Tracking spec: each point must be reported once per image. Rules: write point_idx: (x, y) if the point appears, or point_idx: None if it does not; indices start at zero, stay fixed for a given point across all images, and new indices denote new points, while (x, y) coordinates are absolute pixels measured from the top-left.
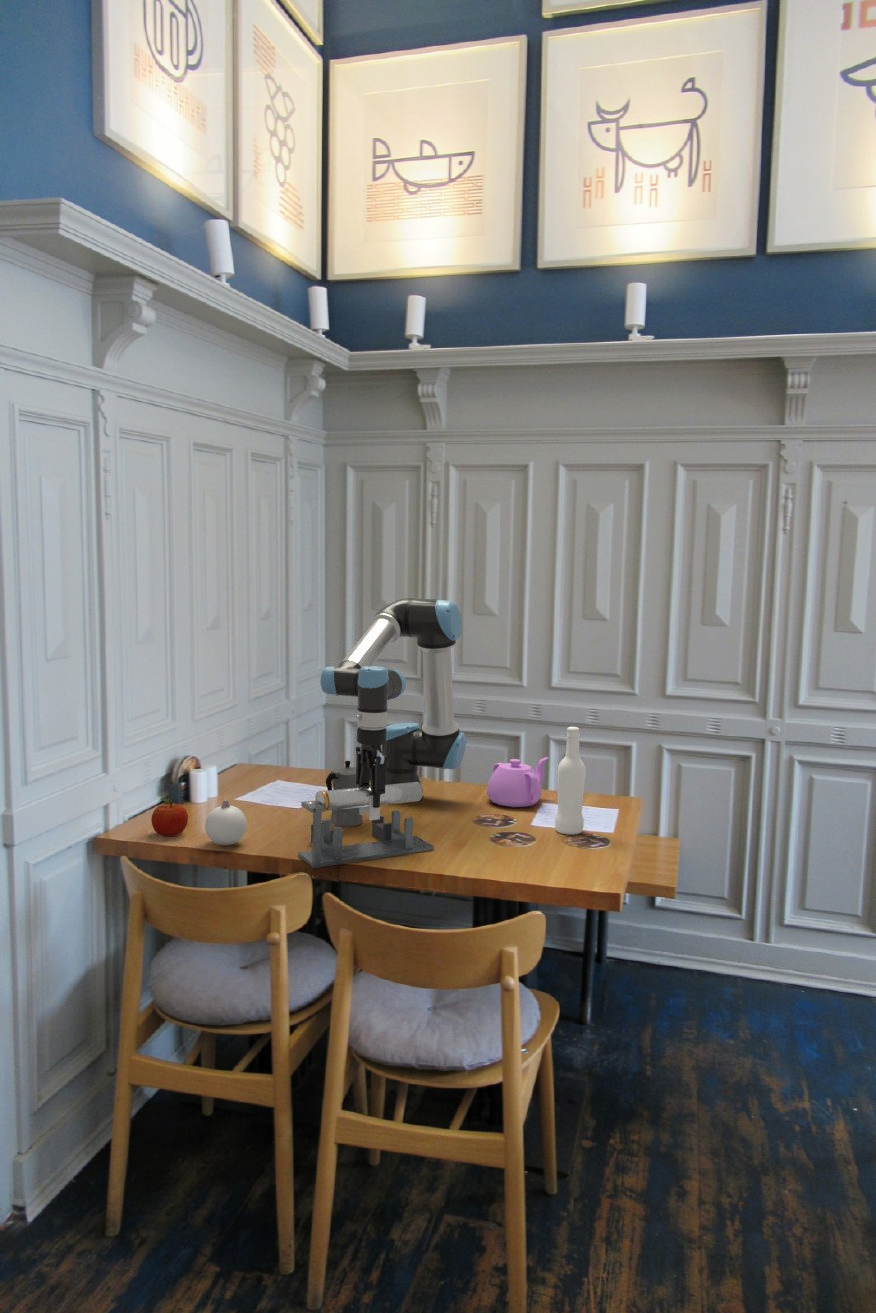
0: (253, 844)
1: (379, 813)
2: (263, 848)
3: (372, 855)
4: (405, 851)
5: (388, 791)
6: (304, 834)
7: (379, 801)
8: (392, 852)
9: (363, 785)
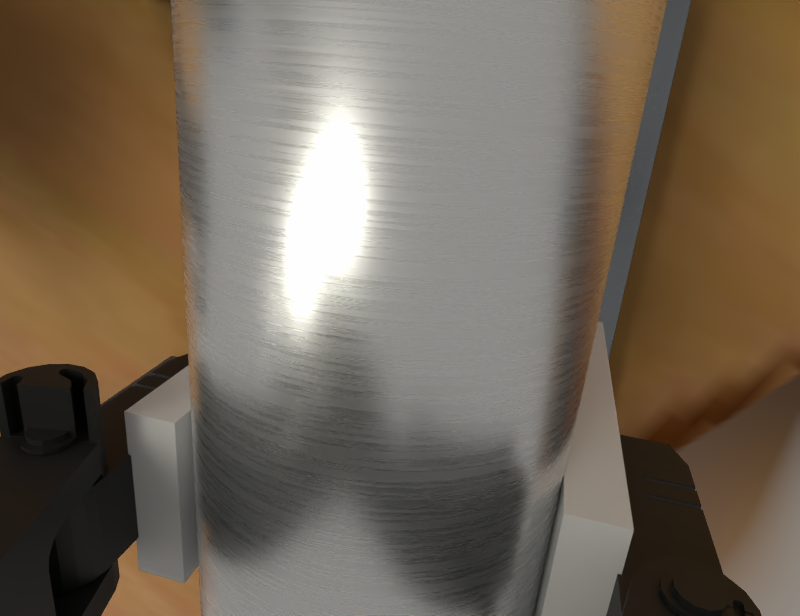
0: (113, 601)
1: (604, 354)
2: (176, 604)
3: (618, 306)
4: (688, 10)
5: (576, 266)
6: (37, 359)
7: (699, 520)
8: (656, 140)
9: (84, 565)
